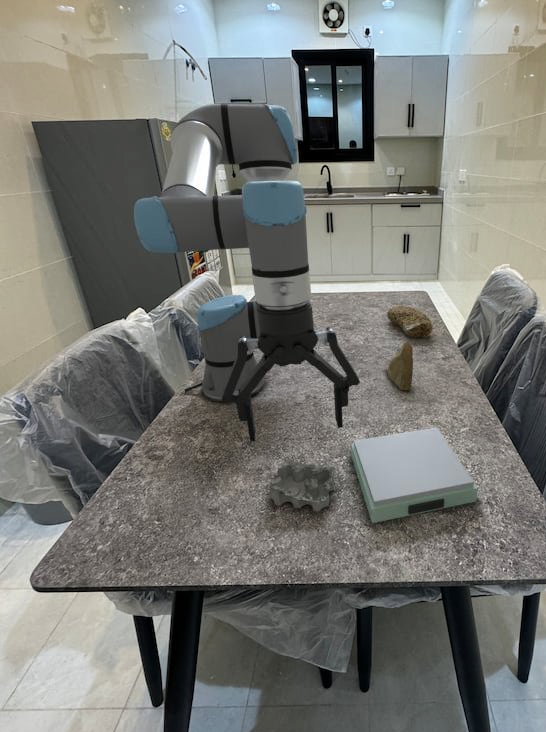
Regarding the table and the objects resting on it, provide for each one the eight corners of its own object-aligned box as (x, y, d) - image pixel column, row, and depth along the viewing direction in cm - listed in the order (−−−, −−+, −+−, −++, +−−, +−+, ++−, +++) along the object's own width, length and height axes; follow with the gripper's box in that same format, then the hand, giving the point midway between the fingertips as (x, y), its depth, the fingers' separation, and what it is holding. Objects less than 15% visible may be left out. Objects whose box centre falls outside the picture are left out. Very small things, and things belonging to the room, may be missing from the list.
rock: (421, 386, 93) (427, 363, 101) (400, 361, 91) (408, 339, 99) (387, 401, 99) (395, 378, 107) (366, 378, 97) (377, 356, 105)
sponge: (436, 341, 126) (420, 309, 142) (435, 321, 122) (419, 291, 138) (397, 349, 126) (386, 317, 142) (394, 330, 122) (383, 299, 138)
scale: (372, 525, 60) (372, 506, 59) (351, 455, 75) (350, 439, 73) (477, 503, 64) (479, 485, 62) (437, 441, 78) (438, 425, 77)
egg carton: (265, 504, 64) (262, 486, 63) (283, 472, 71) (281, 455, 69) (325, 516, 62) (324, 497, 60) (338, 482, 69) (337, 464, 67)
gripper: (181, 319, 47) (211, 458, 55) (379, 302, 52) (378, 431, 60) (192, 301, 53) (217, 427, 62) (365, 287, 58) (367, 405, 67)
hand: (296, 429), depth 61 cm, fingers open, 13 cm apart
